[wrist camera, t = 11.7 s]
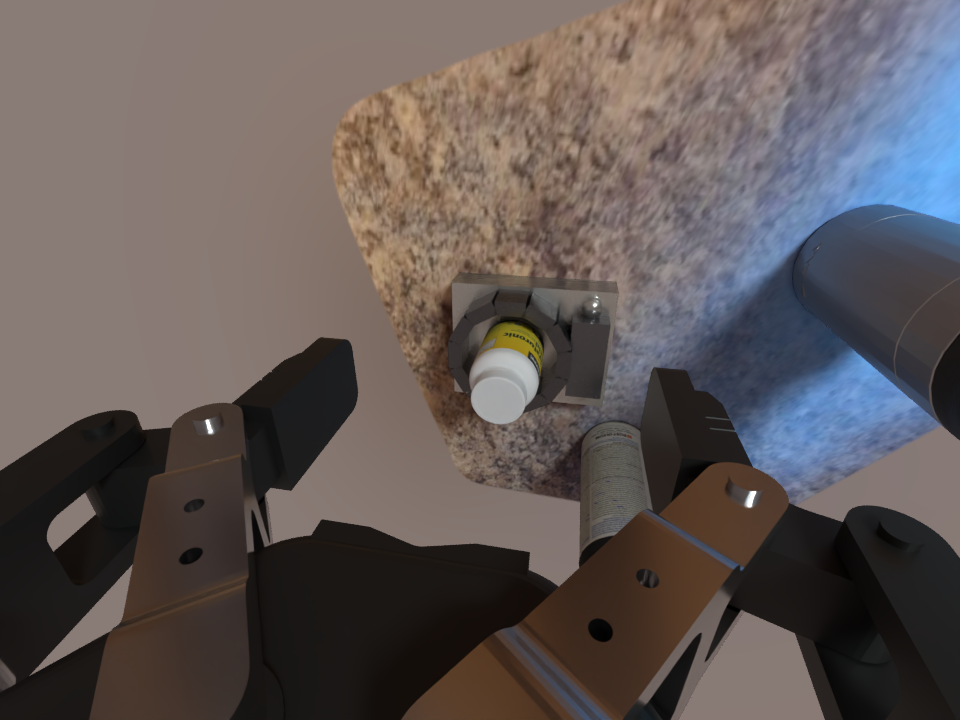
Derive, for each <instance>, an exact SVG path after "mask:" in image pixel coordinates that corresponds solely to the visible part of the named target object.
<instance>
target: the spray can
mask: <svg viewBox="0 0 960 720" xmlns="http://www.w3.org/2000/svg"><path fill="white" fill-rule="evenodd" d="M640 433H641V431H640V430H638V429H637V428H636V427H634V426H632V425H630V424H628V423H625V422H621V421H609V422H604V423H601V424H598V425H596V426H595V427H593V428H592V429H591V430H590V431H589V432H588V433H587V435H586V436H585V438H584V440H583V442H582V447H581V499H580V560H579V568H580V567H581V566H582V565H583V564H584V563H585V562H586V561H587V560H588V559H589V558H590V557H592V556H593V555H594V554H595V553H596V552H597V551H598V550H599V549H600V548H601V547H602V546H604V545H605V544H606V543H607V542H608V541H609V540H610V539H611V538H612V537H613V536H614V535H615V534H617V533H618V532H619V531H620V530H621V529H622V528H623V527H624V526H625V525H626V524H627V523H628V522H630V521H631V520H632V519H633V518H634V517H635V516H636V515H637V514H638V513H639V512H641V511H642V510H644V509H650V510H652V511H653V509H652V504H651V498H650V493H649V487H648V481H647V476H646V470H645V465H644V459H643V454H642V448H641V440H640Z"/></svg>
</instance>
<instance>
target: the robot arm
mask: <svg viewBox="0 0 960 720" xmlns="http://www.w3.org/2000/svg"><path fill="white" fill-rule="evenodd" d="M793 287H794V290H795V293H796V296H797V297H798V299H799V300H800V302H801V303H802V305H803V306H804V307H806V308H807V309H808V310H809V311H810V312H811V313H812V314H813V315H815V316H816V317H817V318H818V319H819V320H820V321H821V322H823V323H824V324H825V325H826V326H827V327H828V328H829V329H830V330H831V331H833V332H834V333H835V334H836V335H837V336H838V337H839V338H841V339H842V340H843V341H844V342H845V343H846V344H848V345H849V346H850V347H851V348H852V349H853V350H855V351H856V352H857V353H858V354H859V355H860V356H862V357H863V358H864V359H865V360H866V361H867V362H868V363H870V364H871V365H872V366H873V367H874V368H875V369H877V370H878V371H879V372H880V373H881V374H882V375H884V376H885V377H886V378H887V379H888V380H889V381H890V382H892V383H893V384H894V385H895V386H896V387H897V388H899V389H900V390H901V391H902V392H903V393H904V394H906V395H907V396H908V397H909V398H910V399H912V400H913V401H914V402H915V403H916V404H918V405H919V406H920V407H921V408H922V409H923V410H925V411H926V412H927V413H928V414H929V415H930V416H931V417H933V418H934V419H935V420H936V421H937V422H938V423H940V424H941V425H942V426H943V427H944V428H945V429H947V430H948V431H949V432H950V433H951V434H953V435H954V436H955V437H956V438H957V439H959V440H960V224H956V223H953V222H949V221H946V220H942V219H939V218H936V217H933V216H930V215H926V214H923V213H919V212H915V211H912V210H908V209H905V208H901V207H897V206H893V205H870V206H863V207H859V208H856V209H853V210H850V211H847V212H845V213H843V214H841V215H839V216H837V217H835V218H833V219H831V220H830V221H829V222H827V223H826V224H824V225H823V226H822V227H820V228H819V229H818V230H817V231H816V232H815V233H814V234H813V235H812V236H811V237H810V238H809V239H808V241H807V242H806V243H805V245H804V246H803V248H802V249H801V251H800V253H799V255H798V257H797V260H796V262H795V266H794V271H793ZM357 397H358V387H357V380H356V373H355V365H354V358H353V351H352V346H351V344H350V342H349V341H348V340H345V339H334V338H323V337H321V338H319V339H318V340H316V341H315V342H314V343H313V344H312V345H310V346H309V347H308V348H307V349H305V351H303V352H302V353H299V354H297V355H295V356H293V357H291V358H288V359H286V360H284V361H283V362H281V363H280V364H279V365H278V366H277V367H275V368H274V369H273V370H272V372H269V373H268V374H267V375H266V376H264V377H263V378H262V381H261V380H260V381H259V382H257V383H256V384H255V385H254V386H252V387H251V388H250V389H249V390H247V391H246V392H245V393H244V394H243V395H241V396H240V397H239V398H238V399H237V400H235V401H234V402H233V403H232V404H231V403H215V404H209V405H205V406H201V407H198V408H196V409H193V410H191V411H189V412H187V413H185V414H183V415H182V416H181V417H179V418H178V419H177V420H176V421H175V422H174V423H173V425H172V428H162V429H149V430H142V427H141V426H140V423H139V420H138V417H137V415H136V414H135V413H133V412H131V411H126V410H115V411H107V412H103V413H98V414H95V415H92V416H89V417H86V418H84V419H81V420H79V421H77V422H75V423H74V424H72V425H70V426H69V427H67V428H65V429H64V430H63V431H61V432H59V433H58V434H56V435H55V436H53V437H52V438H50V439H48V440H47V441H45V442H44V443H42V444H41V445H39V446H38V447H37V448H35V449H33V450H32V451H30V452H28V453H27V454H25V455H24V456H22V457H21V458H19V459H18V460H16V461H15V462H13V463H12V464H10V465H8V466H7V467H5V468H4V469H2V470H1V471H0V720H678V719H679V718H680V716H681V714H682V713H683V711H684V709H685V707H686V705H687V703H688V702H689V699H690V698H691V695H692V694H693V692H694V690H695V687H696V686H697V684H698V682H699V680H700V679H701V677H702V676H703V674H704V672H705V671H706V669H707V668H708V666H709V665H710V663H711V661H712V660H713V659H714V657H715V656H716V654H717V653H718V651H719V649H720V648H721V646H722V645H723V643H724V642H725V640H726V639H727V637H728V636H729V634H730V633H731V631H732V630H733V628H734V626H735V625H736V624H737V622H738V620H739V619H740V617H741V616H742V614H743V613H744V611H745V612H747V613H750V614H752V615H755V616H757V617H759V618H761V619H764V620H766V621H768V622H771V623H773V624H775V625H777V626H780V627H782V628H784V629H787V630H789V631H791V632H794V633H795V635H796V637H797V640H798V643H799V646H800V649H801V652H802V654H803V658H804V661H805V663H806V666H807V669H808V672H809V675H810V678H811V680H812V684H813V687H814V689H815V692H816V695H817V698H818V701H819V704H820V707H821V710H822V712H823V715H824V718H825V720H960V558H959V557H958V555H957V554H956V553H955V551H954V550H953V549H952V548H951V546H950V545H949V544H948V543H947V542H946V541H945V540H944V539H943V538H942V537H941V536H940V535H939V534H937V533H936V532H935V531H933V530H932V529H931V528H929V527H928V526H926V525H924V524H923V523H921V522H919V521H917V520H916V519H914V518H912V517H909V516H907V515H905V514H902V513H900V512H897V511H894V510H891V509H888V508H883V507H878V506H858V507H855V508H852V509H851V510H850V511H849V512H848V513H847V515H846V517H845V519H844V521H843V522H841V521H838V520H835V519H831V518H828V517H825V516H822V515H819V514H816V513H813V512H810V511H807V510H804V509H802V508H799V507H797V506H795V505H792V504H790V503H789V498H788V495H787V493H786V491H785V490H784V488H783V487H782V486H781V485H780V484H779V483H778V482H777V481H776V480H775V479H773V478H772V477H771V476H769V475H768V474H766V473H764V472H762V471H760V470H758V469H756V468H753V466H752V464H751V462H750V460H749V458H748V456H747V454H746V452H745V450H744V448H743V446H742V444H741V442H740V440H739V438H738V435H737V433H736V432H734V430H735V429H734V427H733V425H732V423H731V421H729V417H728V415H727V413H726V411H725V409H724V407H723V405H722V404H721V403H720V402H719V401H718V400H716V399H715V398H714V397H713V396H712V395H710V394H709V393H708V392H702V391H695V390H694V388H693V385H692V383H691V380H690V378H689V376H688V373H687V371H686V370H678V369H667V368H655V367H654V368H653V370H652V372H651V376H650V381H649V386H648V391H647V396H646V401H645V406H644V411H643V416H642V422H641V433H640V440H641V448H642V454H643V459H644V465H645V470H646V476H647V481H648V487H649V493H650V498H651V504H652V509H653V511H652V510H650V509H644V510H642V511H641V512H639V513H638V514H637V515H636V516H635V517H634V518H633V519H632V520H631V521H630V522H628V523H627V524H626V525H625V526H624V527H623V528H622V529H621V530H620V531H619V532H618V533H617V534H615V535H614V536H613V537H612V538H611V539H610V540H609V541H608V542H607V543H606V544H605V545H604V546H602V547H601V548H600V549H599V550H598V551H597V552H596V553H595V554H594V555H593V556H592V557H590V558H589V559H588V560H587V561H586V562H585V563H584V564H583V565H582V566H581V567H580V568H579V569H578V570H576V571H575V572H574V573H573V574H572V575H571V576H570V577H569V578H568V579H567V580H566V581H565V582H564V583H562V584H561V585H560V586H559V587H558V586H557V585H556V584H554V583H553V582H551V581H550V580H548V579H546V578H544V577H543V576H541V575H539V574H537V573H534V572H532V571H529V556H530V552H525V551H519V550H512V549H506V548H500V547H494V546H487V545H480V544H462V545H444V546H427V547H419V546H414V545H411V544H409V543H406V542H404V541H402V540H399V539H397V538H395V537H392V536H390V535H388V534H385V533H383V532H381V531H378V530H376V529H373V528H371V527H367V526H360V525H354V524H348V523H341V522H335V521H329V520H321V521H320V523H319V524H318V526H317V527H316V529H315V531H314V532H313V534H312V535H311V536H303V537H297V538H291V539H288V540H284V541H280V542H277V543H274V544H273V538H272V530H271V522H270V514H269V507H268V502H267V498H266V492H267V491H268V490H269V489H270V488H276V489H283V490H290V491H291V490H292V489H293V488H294V486H295V485H296V484H297V483H298V481H299V480H300V479H301V477H302V476H303V475H304V474H305V472H306V471H307V470H308V468H309V467H310V466H311V464H312V463H313V462H314V461H315V459H316V458H317V457H318V455H319V454H320V453H321V451H322V450H323V449H324V447H325V446H326V445H327V444H328V442H329V441H330V440H331V439H332V437H333V436H334V435H335V433H336V432H337V431H338V430H339V428H340V427H341V425H342V424H343V423H344V422H345V420H346V419H347V418H348V416H349V415H350V414H351V413H352V411H353V410H354V408H355V405H356V402H357ZM84 493H86V495H87V497H88V499H89V501H90V503H91V505H92V507H93V509H94V511H95V512H96V515H95V516H94V517H93V518H91V519H90V520H89V521H88V522H87V523H86V524H85V525H83V526H82V527H81V528H80V529H79V530H78V531H77V532H76V533H74V535H72V536H71V537H70V538H69V539H68V540H66V541H65V542H64V543H63V544H62V545H61V546H60V547H59V548H58V549H56V550H55V551H54V552H53V551H52V549H51V547H50V546H49V544H48V542H47V531H48V528H49V525H50V523H51V522H52V520H53V519H54V518H55V517H56V516H57V515H58V514H59V513H60V512H61V511H63V510H64V509H65V508H66V507H68V506H69V505H70V504H71V503H73V502H74V501H75V500H76V499H77V498H79V497H80V496H81V495H82V494H84ZM132 564H133V566H132V572H131V577H130V582H129V587H128V593H127V598H126V604H125V609H124V614H123V618H122V620H121V622H120V624H119V625H117V626H116V627H114V628H113V629H112V631H110V632H108V633H106V634H105V635H103V636H101V637H99V638H97V639H96V640H94V641H92V642H90V643H88V644H87V645H85V646H83V647H81V648H79V649H78V650H76V651H74V652H72V653H70V654H69V655H67V656H65V657H63V658H61V659H59V660H58V661H56V662H54V663H52V664H50V665H49V666H47V667H45V668H43V669H41V670H40V671H38V672H36V673H34V674H32V675H31V676H29V675H30V674H31V673H32V672H33V671H34V670H35V669H36V668H37V667H38V666H39V665H40V664H41V663H42V661H43V660H44V659H45V658H46V657H47V656H48V655H49V654H50V653H51V652H52V650H54V648H55V647H56V646H57V645H58V644H59V643H60V642H61V641H62V640H63V639H64V638H65V637H66V635H67V634H68V633H69V632H70V631H71V630H72V629H73V628H74V627H75V626H76V625H77V623H79V621H80V620H81V619H82V618H83V617H84V616H85V615H86V614H87V613H88V612H89V611H90V609H92V607H93V606H94V605H95V604H96V603H97V602H98V601H99V600H100V599H101V598H102V597H103V595H104V594H105V593H106V592H107V591H108V590H109V589H110V588H111V587H112V586H113V585H114V584H115V583H116V582H117V580H118V579H119V578H120V577H121V576H122V575H123V574H124V573H125V572H126V570H128V569H129V567H130V566H131V565H132Z"/></svg>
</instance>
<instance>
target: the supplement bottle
mask: <svg viewBox="0 0 960 720" xmlns="http://www.w3.org/2000/svg"><path fill="white" fill-rule="evenodd" d="M543 355H544V342H543V339H542V336H541V334H540V333H539V331H538V330H537V329H536V328H535V327H534V326H533V325H532V324H531V323H529V322H527V321H525V320H522V319H517V318H508V319H504V320H501V321H499V322H497V323H495V324H494V325H493V326H492V327H491V328H490V329H489V330H488V332H487V334H486V336H485V338H484V340H483V342H482V344H481V347H480V349H479V351H478V354H477V356H476V358H475V360H474V363H473V365H472V368H471V371H470V376H469V383H470V387H471V390H472V393H471V403H472V407H473V409H474V410H475V412H476V413H477V414H478V415H479V416H480V417H481V418H483V419H484V420H486V421H488V422H491V423H494V424H507V423H510V422H513V421H515V420H516V419H518V418H519V417H520V416H521V414H522V413H523V411H524V409H525V406H527V405H528V404H529V403H530V402H531V401H532V399H533V398H534V396H535V395H536V392H537V389H538V386H539V380H540V373H541V367H542V361H543Z"/></svg>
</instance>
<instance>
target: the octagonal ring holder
mask: <svg viewBox="0 0 960 720" xmlns="http://www.w3.org/2000/svg"><path fill="white" fill-rule="evenodd" d="M618 296H619V291H618V286H617V282H611V281H594V280H578V279H561V278H544V277H528V276H511V275H494V274H478V273H461V272H460V273H459V274H458V275H457V276H456V278H455V279H454V280H453V282H452V313H453V333H452V334H451V336H450V338H449V341H448V361H449V368H451V369H450V372H451V374H452V375H453V377H454V388H455V392H463V393H467V394H466V396H468V397H470V398H471V393H472V390H471V387H470V383H469V376H470V371H471V368H472V365H473V363H474V360H475V358H476V356H477V354H478V351H479V349H480V347H481V344H482V342H483V340H484V338H485V336H486V334H487V332H488V330H489V329H490V328H491V327H492V326H493V325H494V324H495V323H497V322H499V321H501V320H504V319H508V318H517V319H522V320H525V321H527V322H529V323H531V324H532V325H533V326H534V327H535V328H536V329H537V330H538V331H539V333H540V334H541V336H542V339H543V342H544V355H543V361H542V367H541V373H540V380H539V386H538V389H537V392H536V395H535V396H534V398H533V399H532V401H531V402H530V403H529V404H528V405H527V406H525V409H524V411H523V413H525V412H528V411H531V410H534V409H536V408H539V407H542V406H545V405H547V404H549V401H550V402H561V403H571V404H580V405H590V406H600V407H602V405H603V398H604V391H605V385H606V378H607V371H608V364H609V358H610V351H611V344H612V337H613V330H614V324H615V317H616V310H617V303H618Z"/></svg>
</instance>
